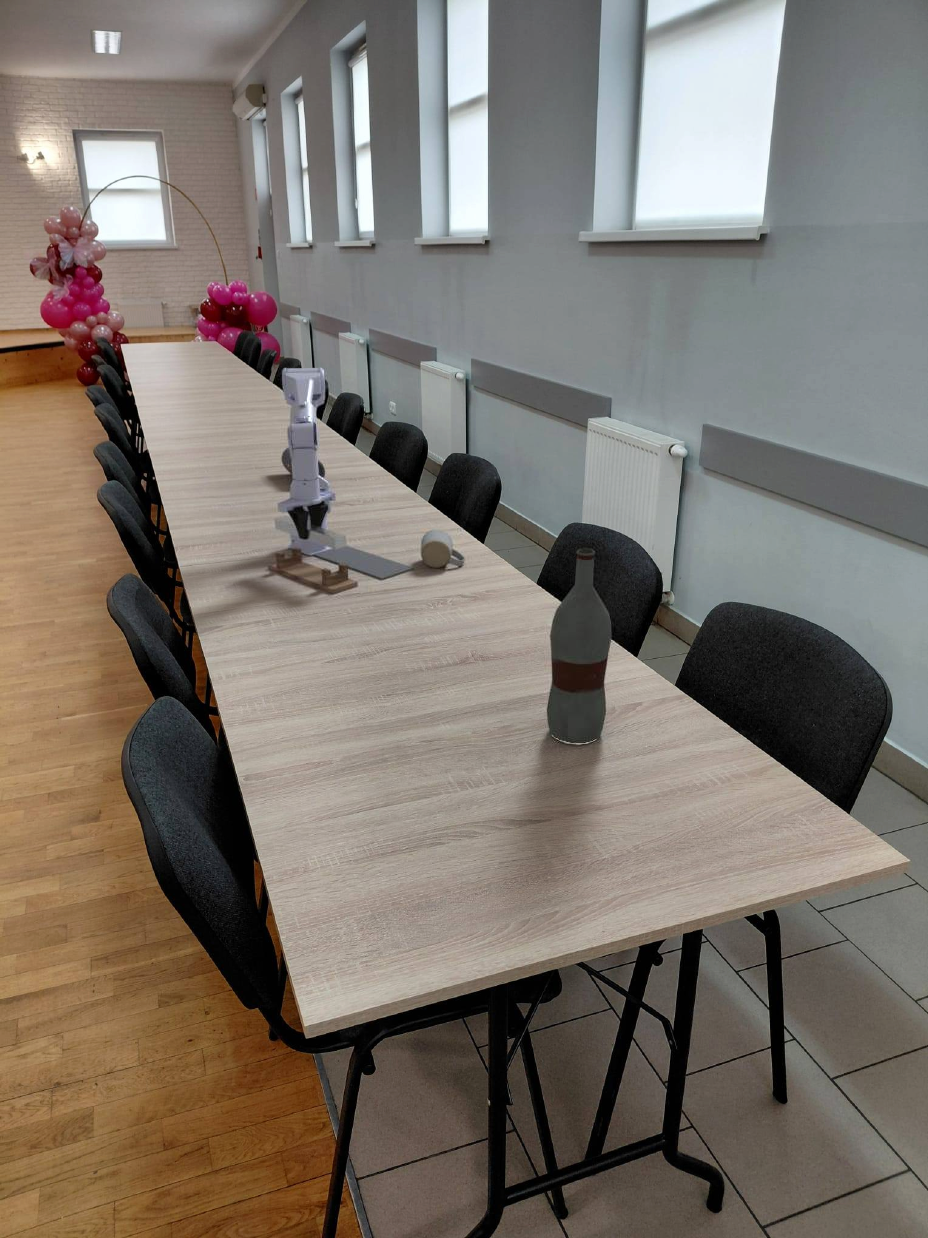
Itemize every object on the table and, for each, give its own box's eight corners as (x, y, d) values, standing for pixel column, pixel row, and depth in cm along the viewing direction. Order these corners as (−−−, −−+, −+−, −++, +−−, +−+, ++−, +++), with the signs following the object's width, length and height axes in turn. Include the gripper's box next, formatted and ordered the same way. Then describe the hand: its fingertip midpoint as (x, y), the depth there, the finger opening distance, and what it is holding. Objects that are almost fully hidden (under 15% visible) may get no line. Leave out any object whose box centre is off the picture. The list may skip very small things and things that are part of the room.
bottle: (567, 712, 147) (576, 537, 136) (615, 730, 142) (630, 549, 130) (534, 734, 141) (541, 552, 129) (583, 754, 135) (595, 565, 124)
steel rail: (275, 528, 209) (274, 518, 208) (285, 526, 211) (285, 515, 210) (335, 549, 195) (335, 538, 194) (346, 546, 197) (345, 535, 196)
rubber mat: (306, 553, 223) (306, 551, 223) (337, 544, 230) (337, 542, 230) (382, 579, 205) (382, 578, 205) (413, 569, 212) (413, 567, 212)
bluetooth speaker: (280, 475, 299) (278, 445, 295) (307, 472, 303) (306, 443, 299) (298, 491, 280) (296, 459, 276) (327, 488, 284) (326, 456, 280)
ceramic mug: (420, 569, 212) (420, 538, 209) (421, 558, 220) (421, 528, 217) (465, 570, 212) (466, 539, 210) (464, 559, 220) (465, 529, 217)
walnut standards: (268, 568, 212) (267, 550, 210) (292, 561, 217) (291, 544, 215) (333, 593, 197) (332, 574, 195) (357, 585, 202) (356, 567, 200)
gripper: (290, 486, 191) (294, 547, 196) (342, 475, 200) (345, 533, 206) (270, 481, 195) (275, 540, 200) (323, 470, 205) (326, 527, 210)
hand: (309, 536), depth 203 cm, fingers closed on steel rail, 3 cm apart
